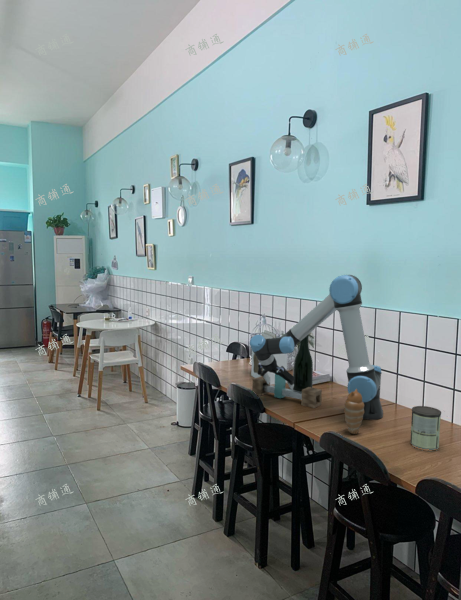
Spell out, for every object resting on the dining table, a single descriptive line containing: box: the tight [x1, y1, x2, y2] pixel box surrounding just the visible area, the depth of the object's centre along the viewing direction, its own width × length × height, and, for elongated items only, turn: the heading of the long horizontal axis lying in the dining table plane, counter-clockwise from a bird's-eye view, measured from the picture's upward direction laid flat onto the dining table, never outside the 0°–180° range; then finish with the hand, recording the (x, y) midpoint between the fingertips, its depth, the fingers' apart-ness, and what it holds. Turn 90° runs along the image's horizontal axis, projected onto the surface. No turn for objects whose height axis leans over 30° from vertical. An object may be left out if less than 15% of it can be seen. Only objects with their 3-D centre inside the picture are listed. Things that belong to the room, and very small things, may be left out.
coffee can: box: [409, 405, 442, 450], centre depth 176 cm, size 10×10×14 cm
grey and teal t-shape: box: [262, 372, 302, 401], centre depth 233 cm, size 28×4×13 cm, turn 53°
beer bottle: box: [292, 333, 314, 392], centre depth 246 cm, size 10×10×33 cm
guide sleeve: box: [300, 386, 323, 409], centre depth 224 cm, size 7×7×8 cm
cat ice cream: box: [343, 389, 364, 435], centre depth 187 cm, size 9×8×18 cm
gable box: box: [250, 329, 289, 385], centre depth 269 cm, size 22×13×28 cm, turn 19°
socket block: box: [251, 376, 271, 397], centre depth 241 cm, size 5×9×8 cm, turn 143°
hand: (280, 384), depth 236 cm, fingers open, 13 cm apart
